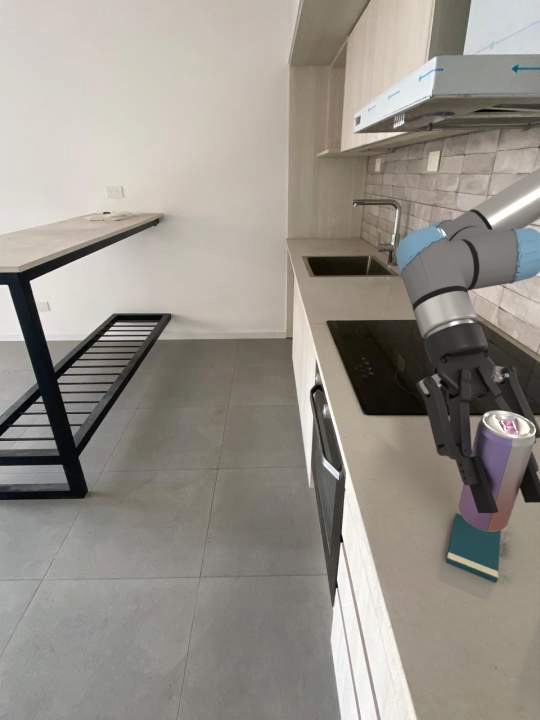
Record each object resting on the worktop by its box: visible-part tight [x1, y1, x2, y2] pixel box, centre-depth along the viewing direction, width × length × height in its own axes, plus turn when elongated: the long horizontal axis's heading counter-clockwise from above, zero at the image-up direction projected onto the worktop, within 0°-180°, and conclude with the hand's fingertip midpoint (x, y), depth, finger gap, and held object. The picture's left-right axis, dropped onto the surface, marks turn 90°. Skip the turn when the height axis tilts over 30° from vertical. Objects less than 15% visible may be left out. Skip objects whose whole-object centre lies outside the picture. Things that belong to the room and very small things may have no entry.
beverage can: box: [458, 410, 536, 532], centre depth 50 cm, size 6×6×15 cm
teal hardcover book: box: [445, 512, 502, 584], centre depth 55 cm, size 9×6×1 cm, turn 150°
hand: (512, 506), depth 47 cm, fingers closed on beverage can, 6 cm apart
